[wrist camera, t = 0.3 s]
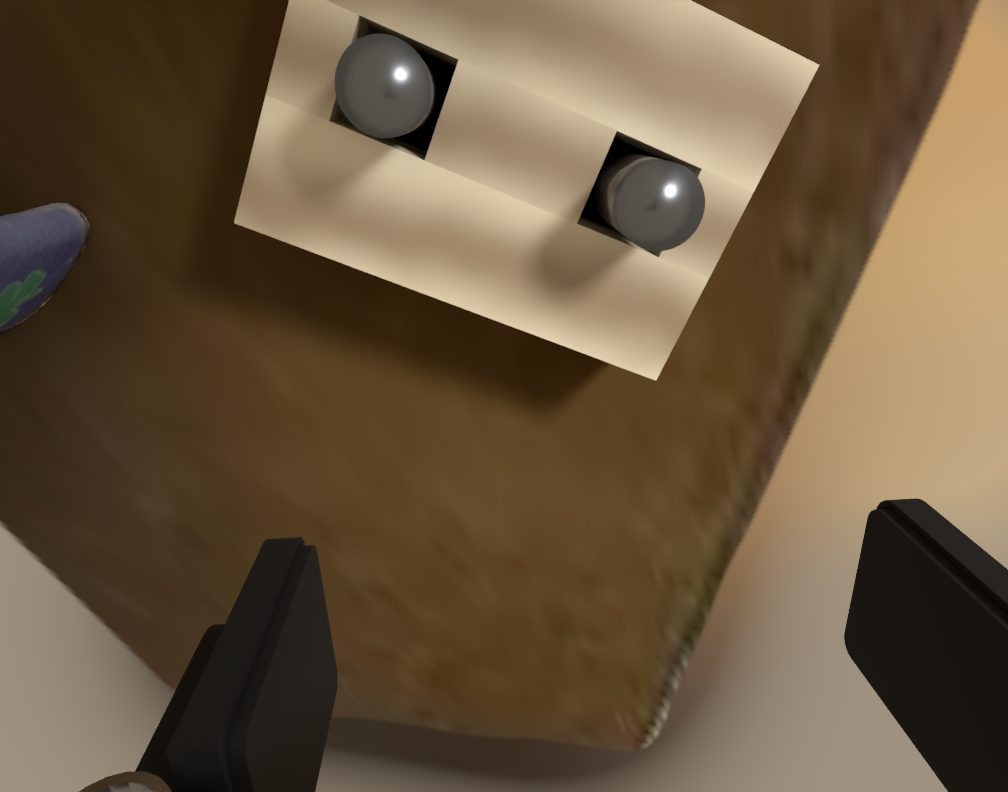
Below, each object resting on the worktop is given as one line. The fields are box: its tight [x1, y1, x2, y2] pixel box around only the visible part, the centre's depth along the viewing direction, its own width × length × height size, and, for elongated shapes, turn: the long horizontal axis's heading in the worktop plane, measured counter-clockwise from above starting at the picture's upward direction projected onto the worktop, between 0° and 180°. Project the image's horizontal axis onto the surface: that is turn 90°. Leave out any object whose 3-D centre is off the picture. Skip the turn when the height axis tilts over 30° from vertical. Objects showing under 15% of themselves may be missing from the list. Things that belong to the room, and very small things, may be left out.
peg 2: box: [595, 154, 705, 251], centre depth 30 cm, size 4×4×6 cm
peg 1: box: [335, 34, 436, 138], centre depth 28 cm, size 4×4×6 cm
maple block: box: [234, 0, 819, 380], centre depth 33 cm, size 16×22×6 cm
